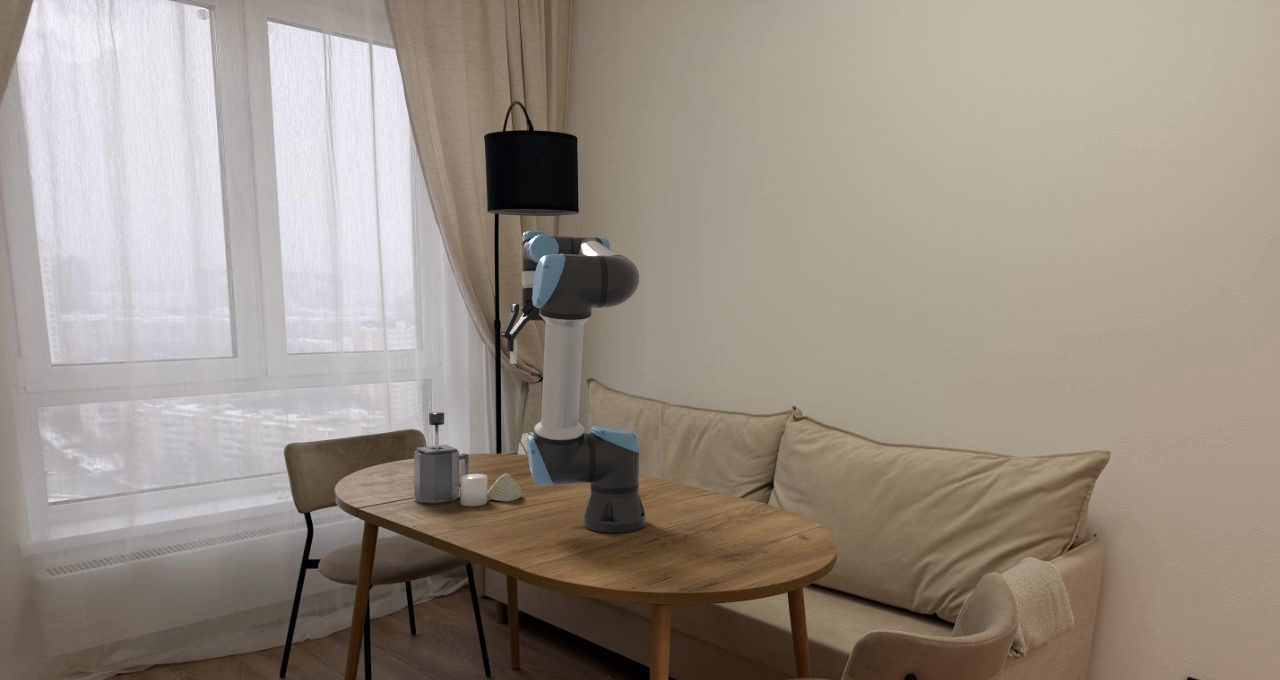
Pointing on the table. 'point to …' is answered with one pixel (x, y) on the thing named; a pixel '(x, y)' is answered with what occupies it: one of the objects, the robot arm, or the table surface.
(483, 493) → the white pillar candle
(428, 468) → the press
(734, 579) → the table surface
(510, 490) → the seashell
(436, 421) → the plunger
